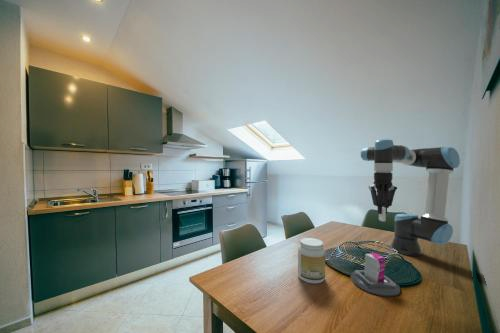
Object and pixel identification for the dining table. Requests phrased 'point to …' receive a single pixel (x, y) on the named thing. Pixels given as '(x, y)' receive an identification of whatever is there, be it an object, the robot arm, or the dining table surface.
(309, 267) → the supplement tub
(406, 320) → the dining table surface
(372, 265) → the supplement box
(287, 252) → the dining table surface
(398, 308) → the dining table surface
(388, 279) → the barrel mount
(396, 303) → the dining table surface
